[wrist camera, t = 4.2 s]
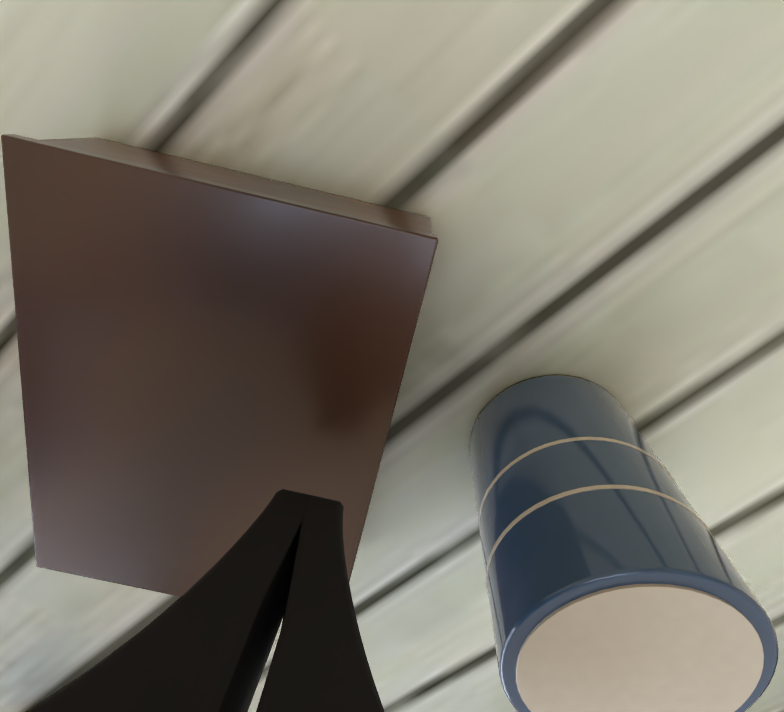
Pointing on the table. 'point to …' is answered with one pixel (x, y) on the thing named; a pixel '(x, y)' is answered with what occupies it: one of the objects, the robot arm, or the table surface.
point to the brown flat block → (197, 351)
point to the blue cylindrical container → (605, 565)
